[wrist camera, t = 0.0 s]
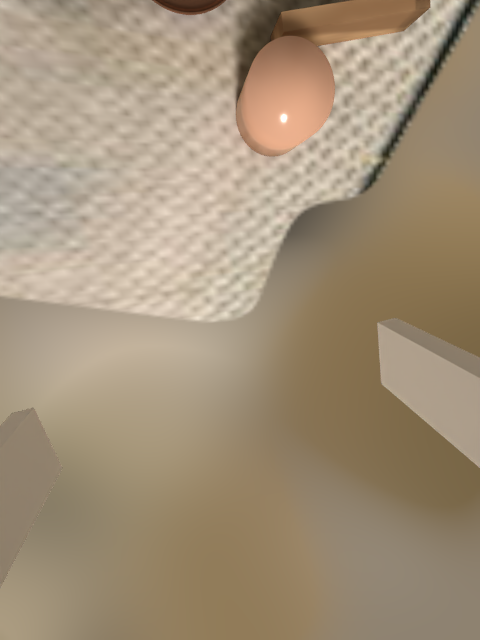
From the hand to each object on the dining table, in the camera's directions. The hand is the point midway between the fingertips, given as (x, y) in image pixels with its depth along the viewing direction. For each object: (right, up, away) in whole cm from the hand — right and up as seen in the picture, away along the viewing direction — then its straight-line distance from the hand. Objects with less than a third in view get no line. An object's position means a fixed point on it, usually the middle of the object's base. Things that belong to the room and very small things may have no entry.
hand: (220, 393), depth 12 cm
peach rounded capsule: (+4, +25, +23) cm, 34 cm away
